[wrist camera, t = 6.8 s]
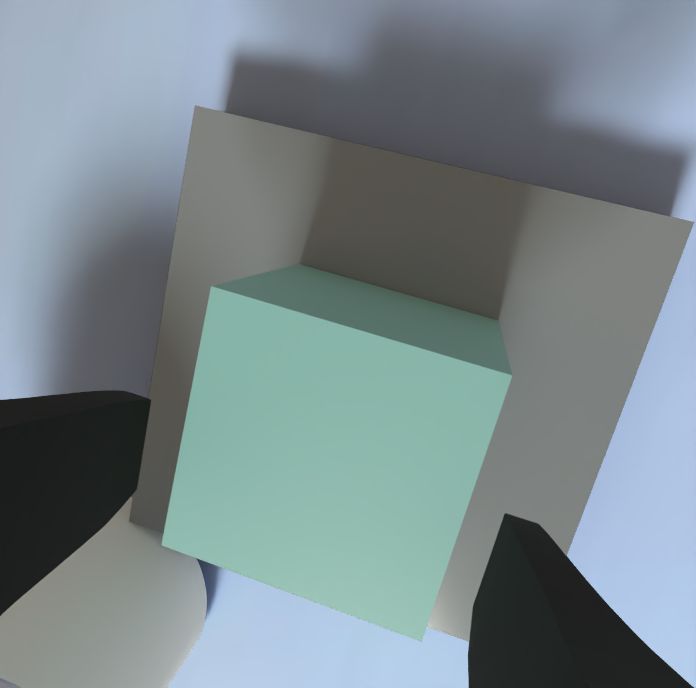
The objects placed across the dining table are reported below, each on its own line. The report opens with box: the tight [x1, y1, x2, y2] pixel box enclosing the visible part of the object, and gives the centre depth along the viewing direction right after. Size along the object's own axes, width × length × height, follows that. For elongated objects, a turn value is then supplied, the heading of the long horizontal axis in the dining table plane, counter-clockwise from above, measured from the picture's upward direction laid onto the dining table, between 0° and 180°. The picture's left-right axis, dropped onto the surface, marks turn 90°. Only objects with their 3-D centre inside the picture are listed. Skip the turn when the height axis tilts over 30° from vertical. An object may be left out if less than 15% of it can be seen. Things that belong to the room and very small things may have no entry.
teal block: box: [161, 264, 512, 642], centre depth 15 cm, size 6×6×6 cm
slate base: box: [129, 106, 694, 641], centre depth 19 cm, size 14×14×2 cm
